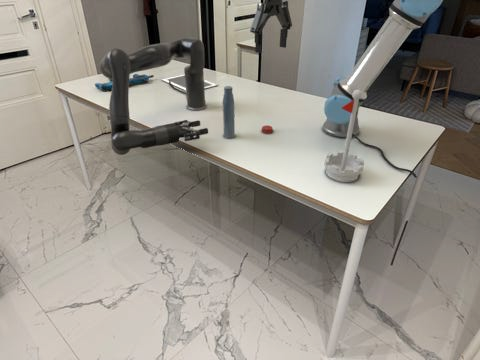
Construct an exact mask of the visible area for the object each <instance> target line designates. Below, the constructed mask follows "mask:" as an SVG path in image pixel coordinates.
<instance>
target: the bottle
mask: <svg viewBox="0 0 480 360" xmlns="http://www.w3.org/2000/svg"><path fill="white" fill-rule="evenodd" d="M222 122H223V123H222V125H223V127H222V128H223V137H224V139H234V138H235V136H236V129H235V128H236V127H235V126H236V125H235V96H234V93H233V86H230V85H225V86H224V87H223V97H222Z"/></svg>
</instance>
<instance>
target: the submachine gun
mask: <svg viewBox="0 0 480 360" xmlns="http://www.w3.org/2000/svg"><path fill="white" fill-rule="evenodd" d="M154 77H155V76H154V74H151V75H147V74H138V73H133V74H132V77H129V86H130V85H134V84H138V83H139V84H140V83H145V82H146V83H147V81H148V80H150V79H151V78H154ZM112 83H113V79H109V82H103V83H100V82H96V83H94V86H95V88H97V89H98V90H100V91H107V90H112Z"/></svg>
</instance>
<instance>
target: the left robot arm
mask: <svg viewBox="0 0 480 360" xmlns="http://www.w3.org/2000/svg"><path fill="white" fill-rule="evenodd" d="M181 58H184V59H189V60H190V62H189V63H190V64H189V65H186V66H184V68H183V72H184V74H185V84H186V91H184V90H182V89H180V88H177V87H176V86H173V85H171V81H170V80H169V83H168V84H169V86H170V87H171V88H172V89H173V90H175V91H177V92H179V93H181V94H184V95H186V107H187V109H188V110H192V111H200V110H204V109H205V108H206V107H207V105H206V103H207V100H206V93H205V90H206V89H204V80H205V76H204V68H205V64H206V63H205V45H204V42H203V41H202V40H201V39H200V38H195V37H187V36H186V37H182V38H178V39H177V40H173V41H171V42H161V43H154V44H149V45H146V46H143V47H141V48H139V49H137V50H135V51H133V52H131V53H129V54H128V53H127V52H126V51H125V50H123V49H121V48H119V47H117V48H116V47H115V48H111V49H110V50H109V51H108V52H106V54H105V55H104V56H103V57H102V59H101V60H100V63H99V72H100V73H101V75H103V77H105V78H107V79H108V80H110V79H113V83H112V89H111V92H110V98H109V104H108V112H109V123H110V131H111V132H110V140H111V141H110V142H111V143H110V144H111V145H110V146H111V149H112V151H113V152H114V153H115V154H116V155H119V156H124V155H127V154H128V153H129V152H130V151H131V150H132V149H137V148H140V149H149V148H153V147H158V146H165V145H170V144H174V143H179V141H180V139H182V138H183V139H184V142H189V141H194V140H199V139H201V136H203V135H207V134H209V128H208V127H204V128H199V129H194V128H196V127H200V126H201V120H198V119H197V120H193V121H190V120H188V119H184V120H179V121H175V122H171V123H166V124H161V125H157V126H153V127H148V128H145V129H139V130H136V129H135V130H134V129H133V130H130V125H131V118H130V117H131V116H130V105H129V102H130V101H129V97H130V96H129V95H130V94H129V93H130V85H129V78H131V74H135V73H137V72H143V71H149V70H153V69H158V68H161V67H165V66H167V65H169V64H170V63H171V62H172V61H173V60H175V59H181ZM184 74H183V75H184Z"/></svg>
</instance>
